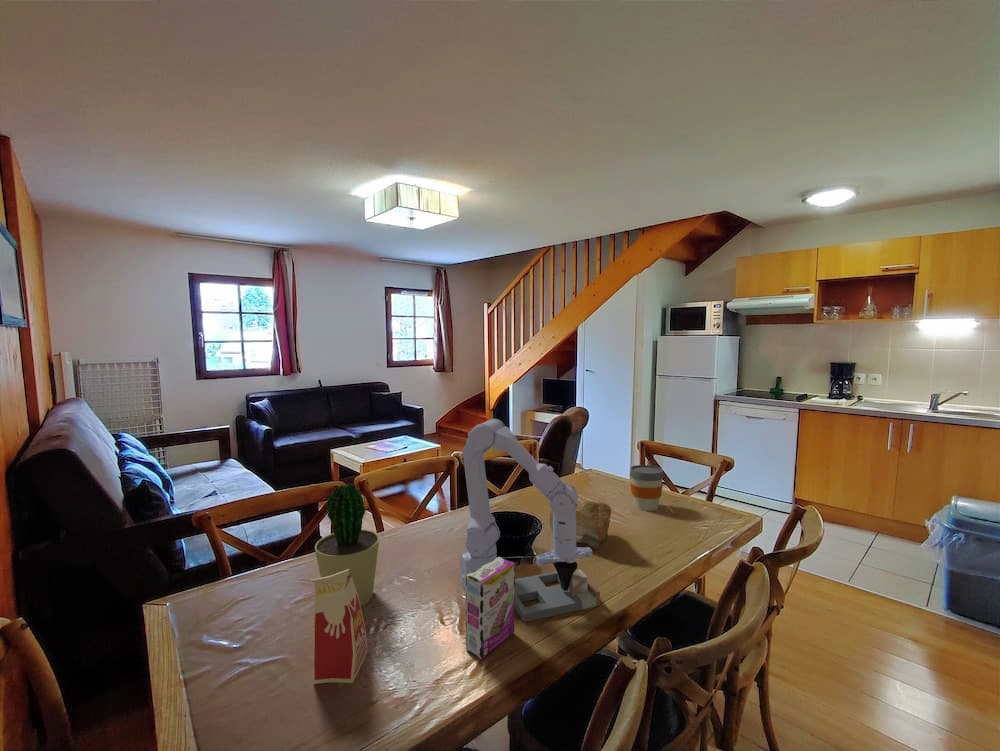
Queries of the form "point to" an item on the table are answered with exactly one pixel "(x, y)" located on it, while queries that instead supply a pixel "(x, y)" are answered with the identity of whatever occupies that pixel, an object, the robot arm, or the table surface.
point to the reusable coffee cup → (646, 486)
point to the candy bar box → (489, 606)
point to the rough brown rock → (590, 523)
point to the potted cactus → (349, 542)
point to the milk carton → (338, 630)
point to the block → (578, 583)
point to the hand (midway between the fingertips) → (564, 588)
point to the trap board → (550, 597)
